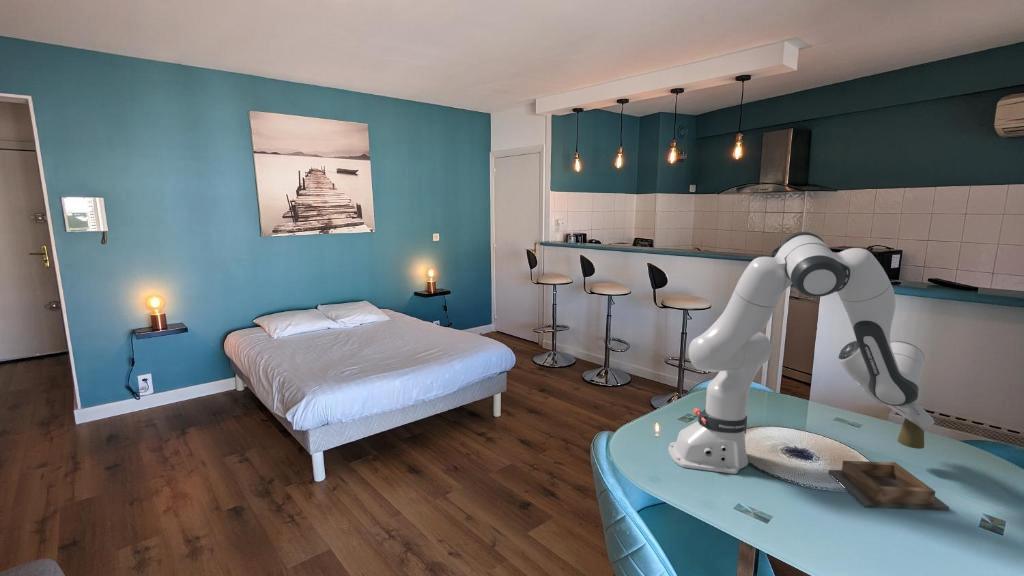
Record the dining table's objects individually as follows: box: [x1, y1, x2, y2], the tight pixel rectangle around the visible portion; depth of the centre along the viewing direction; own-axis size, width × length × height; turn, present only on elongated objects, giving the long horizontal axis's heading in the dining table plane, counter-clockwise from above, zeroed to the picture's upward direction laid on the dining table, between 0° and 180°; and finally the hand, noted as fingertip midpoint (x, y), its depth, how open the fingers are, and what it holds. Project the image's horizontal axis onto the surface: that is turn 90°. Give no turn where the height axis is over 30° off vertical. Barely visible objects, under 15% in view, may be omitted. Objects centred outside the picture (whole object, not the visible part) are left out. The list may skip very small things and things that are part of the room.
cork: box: [897, 408, 928, 450], centre depth 138 cm, size 6×6×11 cm
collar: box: [827, 460, 950, 512], centre depth 128 cm, size 20×16×4 cm
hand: (916, 422), depth 138 cm, fingers closed on cork, 5 cm apart
